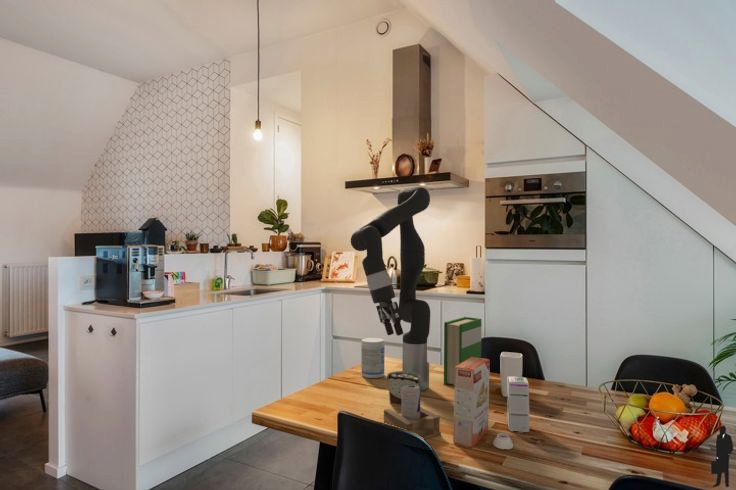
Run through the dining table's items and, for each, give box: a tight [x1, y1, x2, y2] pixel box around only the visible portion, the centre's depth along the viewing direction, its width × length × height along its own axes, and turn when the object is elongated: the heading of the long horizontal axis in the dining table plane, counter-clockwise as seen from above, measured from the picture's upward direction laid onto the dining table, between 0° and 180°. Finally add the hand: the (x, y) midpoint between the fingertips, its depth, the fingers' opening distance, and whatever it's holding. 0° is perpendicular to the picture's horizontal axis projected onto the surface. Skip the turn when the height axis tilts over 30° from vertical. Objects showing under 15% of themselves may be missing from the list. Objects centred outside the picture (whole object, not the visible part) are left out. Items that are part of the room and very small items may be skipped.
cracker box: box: [452, 357, 491, 448], centre depth 124 cm, size 14×6×21 cm, turn 148°
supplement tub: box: [360, 337, 385, 379], centre depth 183 cm, size 10×10×15 cm
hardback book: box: [443, 316, 482, 386], centre depth 176 cm, size 18×7×24 cm, turn 142°
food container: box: [385, 370, 422, 407], centre depth 151 cm, size 12×6×10 cm, turn 65°
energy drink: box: [400, 384, 421, 420], centre depth 128 cm, size 5×5×12 cm
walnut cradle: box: [383, 406, 442, 440], centre depth 128 cm, size 12×12×5 cm
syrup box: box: [506, 376, 530, 433], centre depth 131 cm, size 6×6×14 cm
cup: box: [499, 351, 523, 398], centre depth 159 cm, size 7×7×15 cm
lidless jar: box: [492, 432, 514, 450], centre depth 119 cm, size 5×3×5 cm
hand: (395, 334), depth 143 cm, fingers open, 8 cm apart
